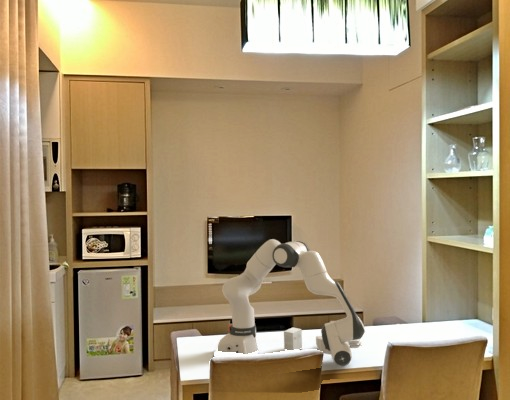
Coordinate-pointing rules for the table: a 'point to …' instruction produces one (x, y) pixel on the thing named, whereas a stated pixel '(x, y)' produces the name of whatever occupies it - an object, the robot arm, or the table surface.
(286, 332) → the small box
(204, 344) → the table surface
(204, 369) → the table surface
